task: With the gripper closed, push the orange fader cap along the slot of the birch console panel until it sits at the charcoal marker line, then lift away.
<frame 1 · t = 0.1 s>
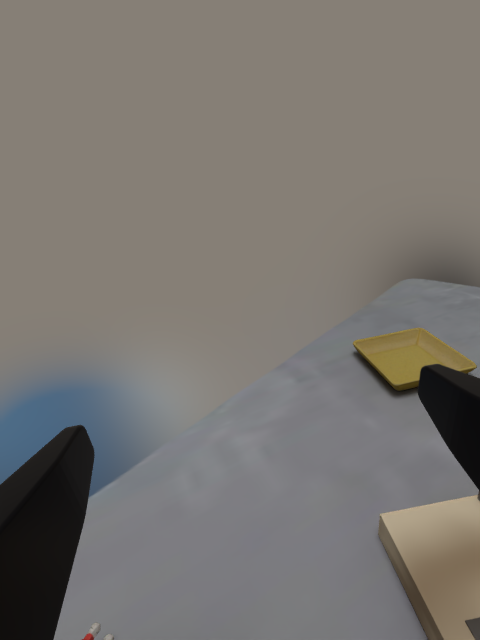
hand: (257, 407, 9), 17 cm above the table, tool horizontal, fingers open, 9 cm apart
yellow tray: (407, 370, 37), on the table
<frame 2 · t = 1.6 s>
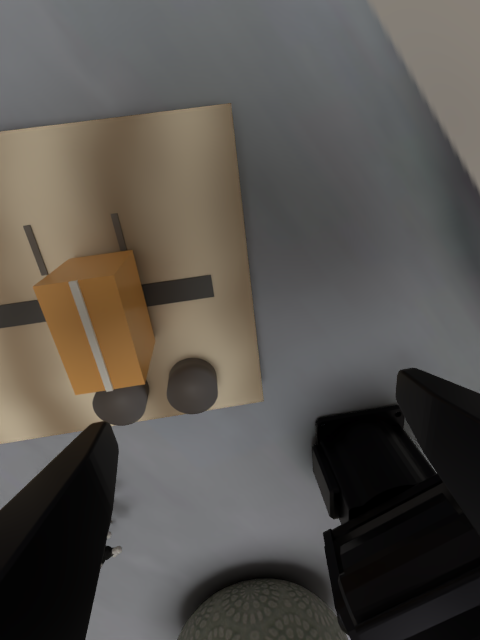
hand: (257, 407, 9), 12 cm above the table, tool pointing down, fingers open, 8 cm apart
console panel: (35, 299, 20), on the table
planter: (254, 605, 35), on the table
fader cap: (105, 319, 16), point 4 cm above the table, slide at -5.0 cm
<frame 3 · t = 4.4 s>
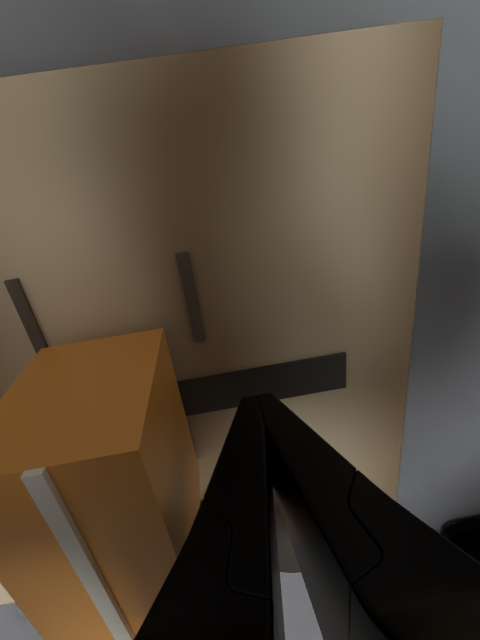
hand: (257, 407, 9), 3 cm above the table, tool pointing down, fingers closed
console panel: (32, 387, 12), on the table
fader cap: (113, 477, 8), point 4 cm above the table, slide at -3.7 cm, touching gripper
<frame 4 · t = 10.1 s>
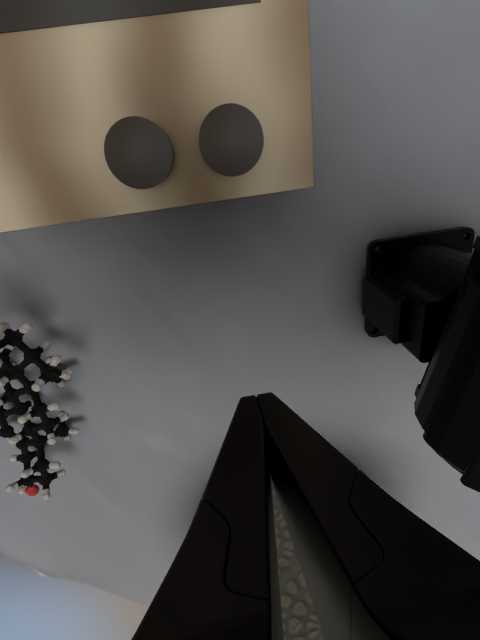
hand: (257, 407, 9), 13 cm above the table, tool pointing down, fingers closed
console panel: (28, 29, 15), on the table
planter: (283, 508, 31), on the table
molecular model: (28, 382, 23), on the table
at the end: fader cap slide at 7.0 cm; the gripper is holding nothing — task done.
